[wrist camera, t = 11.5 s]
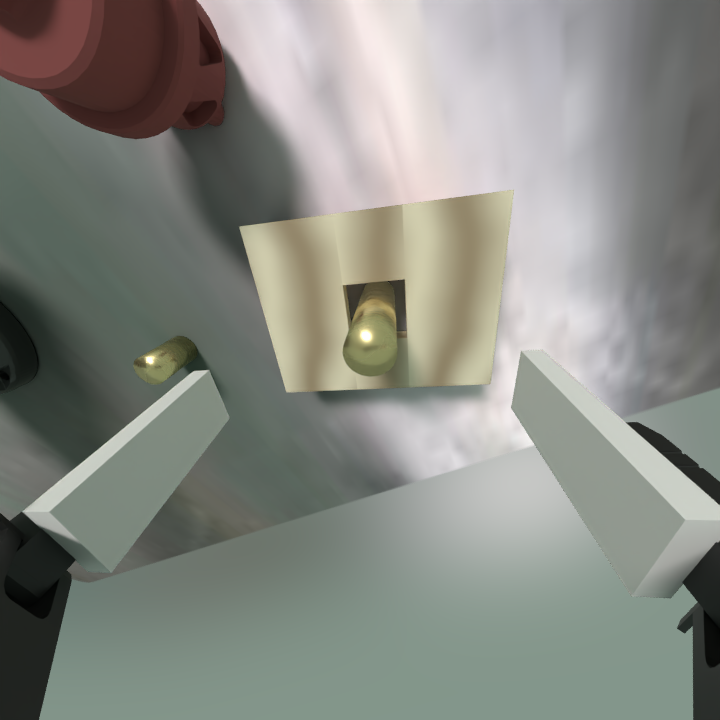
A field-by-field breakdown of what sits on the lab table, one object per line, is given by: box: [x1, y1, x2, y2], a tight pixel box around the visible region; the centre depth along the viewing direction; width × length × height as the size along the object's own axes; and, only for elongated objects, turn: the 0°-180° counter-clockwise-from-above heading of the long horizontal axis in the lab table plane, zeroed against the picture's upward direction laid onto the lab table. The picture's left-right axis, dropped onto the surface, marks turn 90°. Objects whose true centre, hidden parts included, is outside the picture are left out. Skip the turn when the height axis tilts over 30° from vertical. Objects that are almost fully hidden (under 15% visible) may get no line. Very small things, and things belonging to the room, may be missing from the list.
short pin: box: [134, 336, 197, 384], centre depth 28 cm, size 3×3×5 cm
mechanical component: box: [0, 0, 225, 139], centre depth 14 cm, size 12×10×10 cm
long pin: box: [343, 281, 397, 377], centre depth 20 cm, size 3×3×12 cm
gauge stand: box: [239, 190, 514, 392], centre depth 23 cm, size 18×14×5 cm
